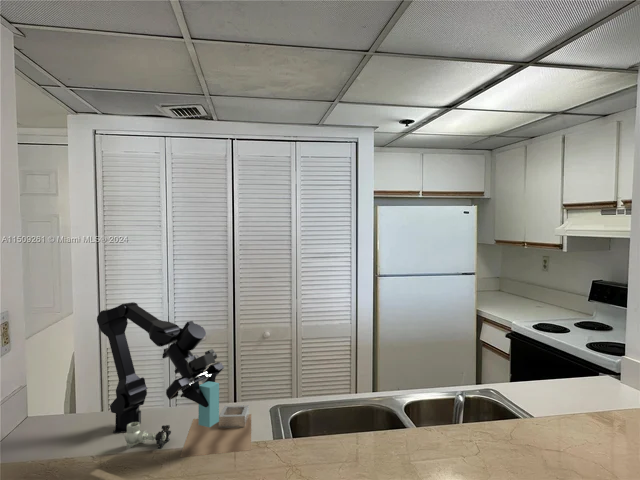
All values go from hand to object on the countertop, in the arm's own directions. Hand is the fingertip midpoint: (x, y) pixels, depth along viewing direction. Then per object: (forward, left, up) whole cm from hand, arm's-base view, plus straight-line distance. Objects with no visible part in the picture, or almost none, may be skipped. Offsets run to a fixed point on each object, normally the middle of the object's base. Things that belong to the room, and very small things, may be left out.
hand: (212, 403), depth 104 cm
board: (+1, +8, -13) cm, 16 cm away
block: (-1, +1, -6) cm, 6 cm away
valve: (-19, +6, -14) cm, 25 cm away
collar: (+5, +15, -12) cm, 20 cm away
